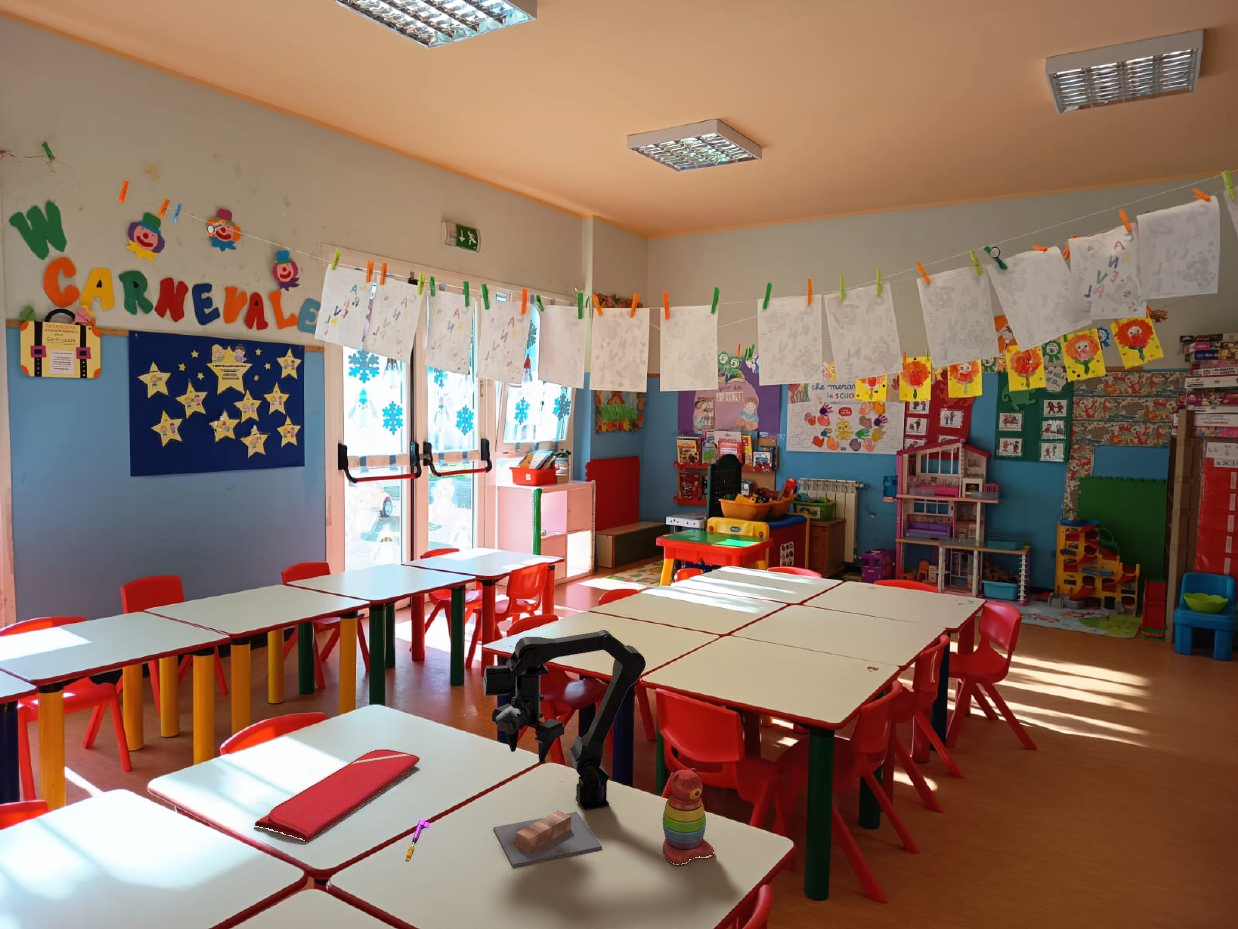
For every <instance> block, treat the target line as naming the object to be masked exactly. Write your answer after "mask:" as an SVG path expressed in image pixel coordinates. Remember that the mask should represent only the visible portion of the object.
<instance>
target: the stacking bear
mask: <svg viewBox="0 0 1238 929" xmlns="http://www.w3.org/2000/svg"><path fill="white" fill-rule="evenodd" d="M699 776H700V775H698V770H697V768H694V767H693V768H692V767H691V768H690V769H680V770H677V771H676V772H674V773H673V775H672V776H671V778H670V781H669V788H670V791H671V795H670V796H669V797H668V798H667V800H666V802H665V804H664V805H665V806H664V811H663V814H662V829H663V833H664V838H665V839H664V840H663V844H662V854H663V856H664V855H665V856H664V857H665V859H666V858H667V859H668V860H669V861H670V862H672V863H674V864H679V865H681V864H682V863H686V862H688V861H689V859H693V858H695V857H699V856H700V857H706V856H709V855H713V852H714V853H715V848H714V847H713V846H712V844H710V843H709V842H708V841H707V840H706V839H705V838H704V836H705V832H706V828H707V827H706V826H707V825H706V824H707V818H706V812H705V807H704V804H703V799H702V798H701V797H700V796H701V795H702V793H703V791H704V790H703V787H704V786H703V783H702V779H701V778H700V777H699ZM713 856H714V855H713ZM667 859H666V860H667ZM668 860H667V861H668ZM693 860H694V859H693ZM669 861H668V862H669ZM670 862H669V863H670ZM689 862H690V861H689ZM689 862H688V863H689Z"/></svg>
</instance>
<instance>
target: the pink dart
mask: <svg viewBox="0 0 1238 929" xmlns="http://www.w3.org/2000/svg"><path fill="white" fill-rule="evenodd" d="M430 826H431V822H427V821H426V820H425V819H424V818H420V819H419V821H418V823H417V827H416V829H415V832H414V834H413V837H412V842H411V843H412V844H411V846H409V847H408V850H407V853H406V856H405V861H407V862H409V861H410V859H411V857H412V854H413V853H414V850H415V847H414V844H416V843H417V842H418V839H419V836H420V833H421V831H422V829H423V828H430Z"/></svg>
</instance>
